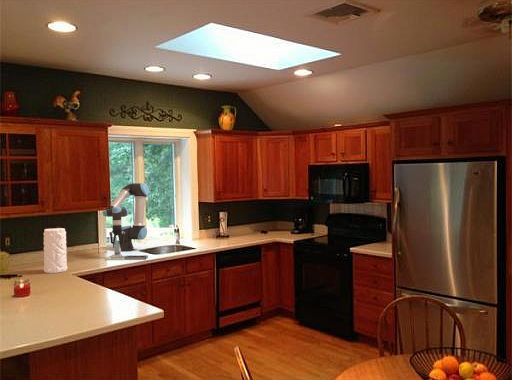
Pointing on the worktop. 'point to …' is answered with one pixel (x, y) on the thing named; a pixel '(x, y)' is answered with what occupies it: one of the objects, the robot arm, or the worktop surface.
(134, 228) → the robot arm
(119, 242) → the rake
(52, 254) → the paper towel roll
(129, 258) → the slot channel
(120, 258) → the tray
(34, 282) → the worktop surface
